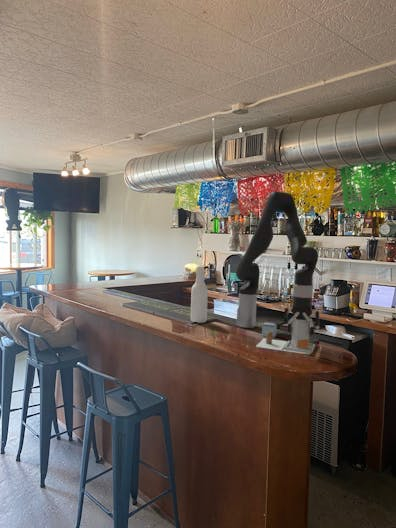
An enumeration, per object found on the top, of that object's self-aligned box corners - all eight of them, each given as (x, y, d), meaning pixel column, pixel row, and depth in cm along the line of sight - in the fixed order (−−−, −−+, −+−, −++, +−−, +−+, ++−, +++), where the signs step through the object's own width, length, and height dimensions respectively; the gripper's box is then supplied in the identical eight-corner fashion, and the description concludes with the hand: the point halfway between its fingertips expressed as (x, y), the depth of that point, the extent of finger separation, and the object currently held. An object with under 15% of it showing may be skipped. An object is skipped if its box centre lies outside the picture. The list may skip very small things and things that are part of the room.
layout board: (255, 350, 165) (256, 334, 165) (263, 341, 179) (264, 327, 179) (311, 358, 157) (312, 342, 156) (315, 348, 170) (316, 333, 170)
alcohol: (187, 321, 213) (189, 266, 211) (195, 318, 221) (197, 265, 218) (202, 324, 209) (204, 267, 207) (209, 320, 217) (211, 266, 214)
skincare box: (296, 349, 163) (297, 320, 162) (290, 346, 167) (292, 318, 166) (309, 348, 164) (310, 319, 164) (303, 345, 169) (305, 317, 168)
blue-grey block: (261, 339, 183) (262, 324, 182) (264, 336, 188) (265, 321, 187) (273, 340, 181) (274, 325, 180) (276, 338, 186) (276, 323, 185)
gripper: (321, 295, 165) (319, 334, 166) (286, 292, 170) (284, 329, 171) (319, 298, 158) (317, 338, 159) (283, 295, 163) (281, 333, 164)
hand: (300, 333), depth 165 cm, fingers open, 8 cm apart
